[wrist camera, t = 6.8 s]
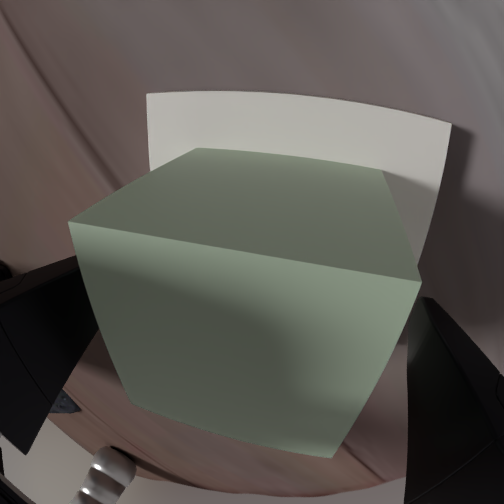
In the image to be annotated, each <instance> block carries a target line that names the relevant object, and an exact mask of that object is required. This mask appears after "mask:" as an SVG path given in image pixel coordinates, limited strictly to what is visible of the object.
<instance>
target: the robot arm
mask: <svg viewBox="0 0 504 504" xmlns="http://www.w3.org/2000/svg"><path fill="white" fill-rule="evenodd" d="M98 329H99V326H98V323H97V320H96V318H95V315H94V312H93V309H92V306H91V303H90V300H89V297H88V294H87V290H86V287H85V284H84V281H83V277H82V274H81V271H80V267H79V263H78V260H77V256H76V255H75V256H72V257H69V258H66V259H64V260H61V261H58V262H55V263H52V264H49V265H46V266H43V267H41V268H38V269H35V270H32V271H29V272H28V273H24V274H21V275H18V276H16V277H13V278H11V276H10V273H9V271H8V270H7V268H6V267H4V266H1V265H0V437H1V435H2V436H3V437H5V438H6V439H7V440H8V441H9V442H10V443H11V444H12V445H13V446H15V447H16V448H17V449H18V450H19V451H21V452H22V453H23V454H24V455H26V454H27V453H28V452H29V450H30V448H31V446H32V444H33V442H34V440H35V438H36V436H37V434H38V432H39V430H40V428H41V427H42V425H43V423H44V421H45V419H46V417H47V415H48V414H49V412H50V410H51V408H52V405H53V404H54V402H55V400H56V399H57V397H58V395H59V393H60V392H61V390H62V388H63V386H64V385H65V383H66V381H67V380H68V378H69V376H70V374H71V373H72V371H73V369H74V368H75V366H76V364H77V363H78V361H79V359H80V358H81V356H82V355H83V353H84V351H85V350H86V348H87V346H88V345H89V343H90V342H91V340H92V339H93V337H94V335H95V334H96V332H97V331H98ZM407 390H408V451H407V471H406V486H405V496H404V504H504V377H503V375H502V374H500V372H499V371H498V369H497V368H496V367H495V366H494V365H493V363H492V362H491V361H490V360H489V359H488V358H487V356H486V355H485V354H484V353H483V352H482V351H481V350H480V348H479V347H478V346H477V345H476V344H475V343H474V342H473V341H472V339H471V338H470V337H469V336H468V335H467V334H466V333H465V332H464V331H463V330H462V328H461V327H460V326H459V325H458V324H457V323H456V322H455V321H454V320H453V319H452V318H451V317H450V316H449V315H448V313H447V312H446V311H445V310H444V309H443V308H442V307H441V306H440V305H439V304H438V303H437V302H436V301H435V300H434V299H433V298H428V297H420V298H419V299H418V300H417V303H416V305H415V308H414V310H413V312H412V315H411V317H410V320H409V325H408V356H407ZM0 504H36V503H34V502H33V501H31V499H29V498H28V497H27V496H26V495H24V494H23V493H22V492H21V491H20V490H19V489H18V488H16V487H15V486H14V485H13V484H12V483H11V482H10V481H9V480H7V479H6V478H5V476H4V470H3V460H2V451H1V447H0Z"/></svg>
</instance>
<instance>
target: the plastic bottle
mask: <svg viewBox="0 0 504 504" xmlns="http://www.w3.org/2000/svg"><path fill="white" fill-rule="evenodd" d="M136 470H137V469H136V464H135V463H134V462H133V461H132V460H130V459H129V458H128V457H127V456H126V455H124V454H123V453H121V452H120V451H117V450H114V449H112V448H109V447H106V446H105V447H102V448H100V449H99V450H98V451H97V452H96V454H95V455H94V458H93V460H92V463H91V468H90V470H89V472H88V474H87V476H86V479H85V480H84V483H83V485H82V486H81V487H80V490H79V491H78V492H77V494H76V495H75V497H74V498H73V499H72V500H71V502H70V503H69V504H116V502H117V500H118V499H119V497H120V496H121V494H122V493H123V491H124V490H125V488H126V487H128V485H129V484H130V483H131V482H132V480H133V479H134V477H135V474H136Z"/></svg>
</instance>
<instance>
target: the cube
mask: <svg viewBox="0 0 504 504" xmlns="http://www.w3.org/2000/svg"><path fill="white" fill-rule="evenodd" d="M68 224H69V228H70V232H71V237H72V241H73V245H74V249H75V252H76V256H77V260H78V263H79V267H80V271H81V274H82V277H83V281H84V284H85V287H86V290H87V294H88V297H89V300H90V303H91V306H92V309H93V312H94V315H95V318H96V320H97V323H98V326H99V329H100V331H101V334H102V337H103V339H104V342H105V344H106V347H107V350H108V352H109V355H110V357H111V359H112V362H113V364H114V367H115V369H116V371H117V374H118V376H119V378H120V380H121V383H122V385H123V387H124V389H125V391H126V394H127V396H128V398H129V400H130V402H131V404H133V405H136V406H138V407H141V408H143V409H146V410H148V411H151V412H153V413H156V414H158V415H161V416H164V417H167V418H169V419H172V420H175V421H178V422H181V423H183V424H186V425H189V426H192V427H196V428H199V429H202V430H205V431H208V432H212V433H215V434H218V435H222V436H225V437H229V438H233V439H236V440H240V441H244V442H248V443H252V444H256V445H261V446H265V447H270V448H274V449H279V450H284V451H289V452H295V453H300V454H306V455H313V456H319V457H326V458H332V457H333V455H334V454H335V452H336V451H337V449H338V448H339V446H340V445H341V443H342V441H343V440H344V438H345V437H346V435H347V434H348V432H349V430H350V429H351V427H352V426H353V424H354V422H355V421H356V419H357V417H358V416H359V414H360V412H361V410H362V409H363V407H364V405H365V403H366V402H367V400H368V398H369V396H370V395H371V393H372V391H373V389H374V387H375V385H376V383H377V382H378V380H379V378H380V376H381V374H382V372H383V370H384V368H385V366H386V364H387V362H388V360H389V358H390V356H391V354H392V352H393V350H394V348H395V345H396V343H397V341H398V339H399V337H400V335H401V332H402V330H403V328H404V326H405V323H406V321H407V319H408V316H409V314H410V312H411V309H412V307H413V304H414V302H415V299H416V297H417V294H418V292H419V289H420V286H421V284H422V281H421V277H420V274H419V271H418V267H417V264H416V261H415V258H414V255H413V252H412V249H411V246H410V243H409V240H408V237H407V234H406V231H405V228H404V226H403V223H402V220H401V218H400V215H399V212H398V210H397V207H396V204H395V202H394V199H393V197H392V194H391V192H390V189H389V187H388V185H387V182H386V180H385V177H384V175H383V173H382V171H381V170H380V169H375V168H369V167H364V166H358V165H352V164H346V163H340V162H333V161H327V160H320V159H313V158H305V157H298V156H290V155H281V154H272V153H262V152H252V151H241V150H228V149H214V148H195V149H193V150H191V151H189V152H187V153H185V154H183V155H181V156H179V157H177V158H175V159H173V160H171V161H169V162H168V163H166V164H164V165H162V166H160V167H158V168H156V169H154V170H153V171H151V172H149V173H147V174H145V175H143V176H142V177H140V178H138V179H136V180H135V181H133V182H131V183H129V184H128V185H126V186H124V187H122V188H121V189H119V190H117V191H116V192H114V193H112V194H111V195H109V196H107V197H106V198H104V199H102V200H101V201H99V202H97V203H96V204H94V205H93V206H91V207H89V208H88V209H86V210H85V211H83V212H82V213H80V214H78V215H77V216H75V217H74V218H72V219H71V220H69V221H68Z"/></svg>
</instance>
